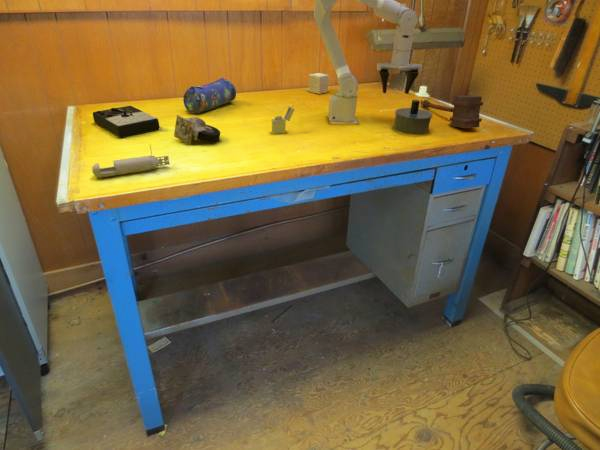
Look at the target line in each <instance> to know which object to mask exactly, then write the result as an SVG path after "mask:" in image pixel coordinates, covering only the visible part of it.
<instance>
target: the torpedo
mask: <svg viewBox="0 0 600 450" xmlns="http://www.w3.org/2000/svg"><path fill="white" fill-rule="evenodd" d="M149 148H150V149H152V146H151V144H149ZM150 153H151V154H150V155H145V156H138V157H129V158H122V159H121V158H120V159H115V160H112V162H113V166H108V167H100V163H99V162H96V163H94V164H93V165H92V167H91V171H92V174H93V176H95V177H96V178H100V179H101V178H102V179H103V178H107V177H113V176H120V175H127V174H133V173H139V172H147V171H152V170H155V169H157V168H158V167H162V166H166V165H170V160H169V159H170V158H169V155H166V156H165V155H164V156H163V155H162V156H155V155H153V152H152V150H150Z"/></svg>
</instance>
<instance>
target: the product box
mask: <svg viewBox="0 0 600 450" xmlns="http://www.w3.org/2000/svg"><path fill="white" fill-rule="evenodd" d="M308 82H309V83H308V84H309V86H308V88H309V89H308V92H309V93H313V94H317V95H321V94H325V93H328V92H329V82H330V75H329V74H327V73H321V72H316V73H311V74H309V81H308Z"/></svg>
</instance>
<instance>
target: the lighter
mask: <svg viewBox="0 0 600 450" xmlns="http://www.w3.org/2000/svg"><path fill="white" fill-rule="evenodd" d="M294 112H295V108H294V107H293V106H288V108H287V110H286V112H285V115H284V117H283V116H282V115H276V116H274V118H272V119H271V133H272V135H280V134H285V133H286V127H287V125H286V123H287V122H286V121H288V122H290V121H291V119H292V116H293V114H294Z"/></svg>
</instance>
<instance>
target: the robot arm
mask: <svg viewBox="0 0 600 450" xmlns="http://www.w3.org/2000/svg"><path fill="white" fill-rule="evenodd" d="M338 1H339V0H315V4H314V10H313V18H314V21H315V23H316V26H317V28H318V31H319V35H320V36H321V39H322V41H323V44H324V47H325V48H326V52H327V54H328V56H329V59H330V61H331V64H332V66H333V70H334V72H335V74H336V77H337V86H338V90H337V91H336V92H335V94H331V95H329V99H328V109H327V111H328V112H327V118H328V121H329V123H331V124H358V121H357V119H356V113H357V104H358V91H359V83H358V82H359V81H358V80H357V78H356V76H355V74H353V73H352V72H351V70H350V67H349V65H348V63H347V59H346V57H345V55H344V52H343V49H342V46H341V44H340V41H339V39H338V36H337V33H336V30H335V28H334V26H333V23H332V20H331V17H330V16H331V13H332V11H333V8H334V5H336V3H337V2H338ZM355 1H356V2H359V3H361V4H363V5H365V6H368V7H369V8H372V9H373V10H374V14H375V16H377V17H378V18H381V19H383V20H385V21H387V22H388V23H389V22H390V23H392V24H396V29H395V33H394V39H393V46H392V53H391V60H390V62H377V64H376V70H377V71H378V72H379V73H378V74H379V75H380V79H381V85H382V93H383V94H386V93H387V90H388V89H387V88H388V83H389V82H388V81H389V76H390V72H389V71H402V72H403V71H405V72H406V83H405V88H404V93H405V94H407V95H409V93H410V90H411V88H412V86H413V84H414V82H415V81H416V79H417V77H418V76H419V73H420V72H422V69H423V65H422V64H420V63H410V59H411V58H410V57H411V51H412V47H413V40H414V32H415V28H416V26H417V25H418V23H419V19H418V17H419V16H418V13H417V11H415V10H414V9H412V8H410V7H409V6H407V4H406V3H404V2H403V3H400V2H398V1H396V0H355Z"/></svg>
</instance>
